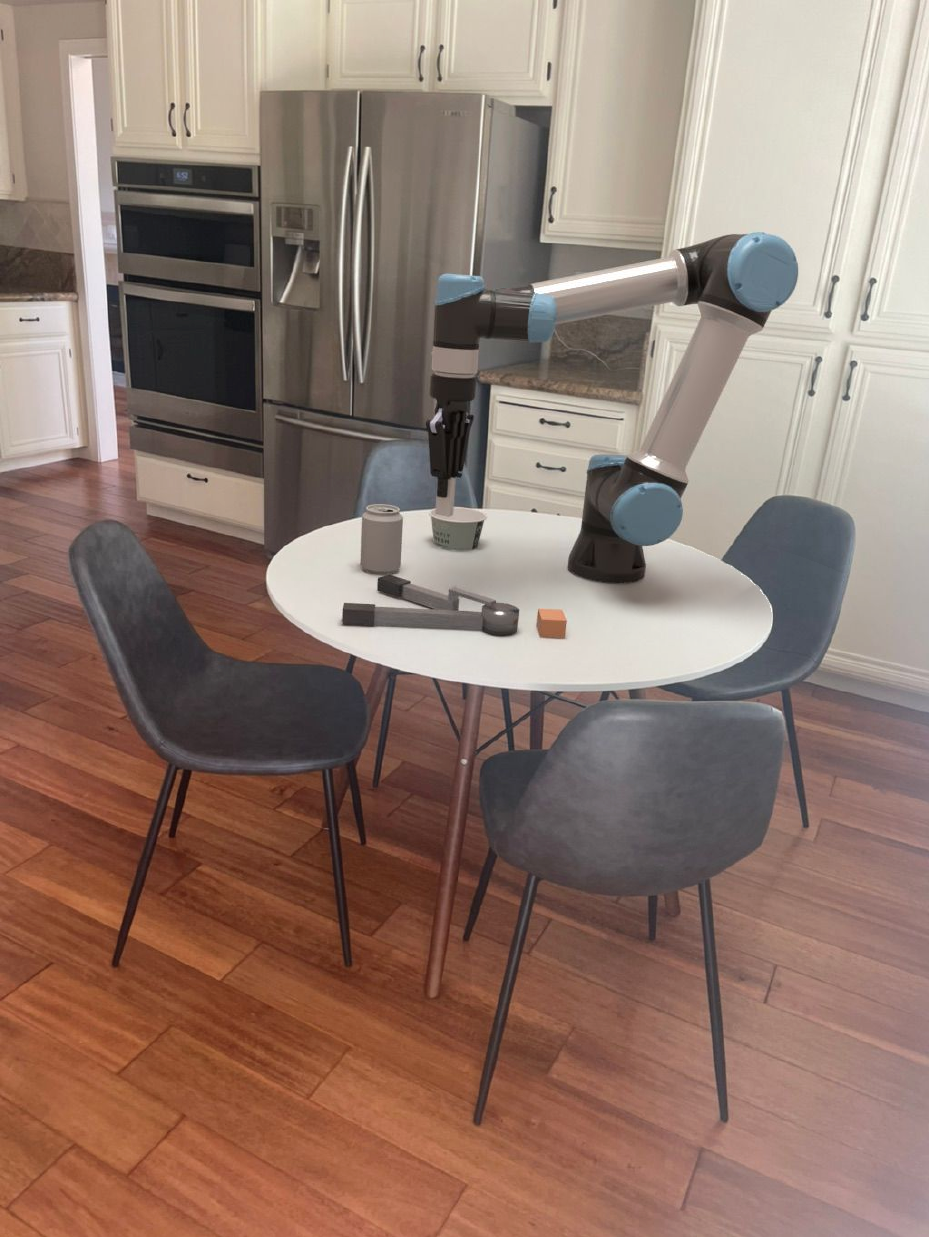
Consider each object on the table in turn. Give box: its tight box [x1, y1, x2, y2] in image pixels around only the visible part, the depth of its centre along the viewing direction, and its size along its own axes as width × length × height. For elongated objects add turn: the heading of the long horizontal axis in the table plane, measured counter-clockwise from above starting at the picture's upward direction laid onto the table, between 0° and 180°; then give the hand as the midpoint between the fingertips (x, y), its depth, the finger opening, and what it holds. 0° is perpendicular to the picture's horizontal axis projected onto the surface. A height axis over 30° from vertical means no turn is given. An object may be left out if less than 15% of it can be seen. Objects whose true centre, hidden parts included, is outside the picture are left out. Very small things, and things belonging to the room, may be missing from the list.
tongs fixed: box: [341, 602, 520, 637], centre depth 150 cm, size 28×6×4 cm, turn 93°
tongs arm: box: [376, 574, 497, 611], centre depth 158 cm, size 24×3×4 cm, turn 53°
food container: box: [428, 506, 488, 551], centre depth 195 cm, size 12×12×6 cm
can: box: [359, 503, 404, 576], centre depth 174 cm, size 8×8×12 cm
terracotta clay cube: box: [535, 608, 568, 639], centre depth 152 cm, size 4×5×3 cm
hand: (444, 514), depth 162 cm, fingers closed
